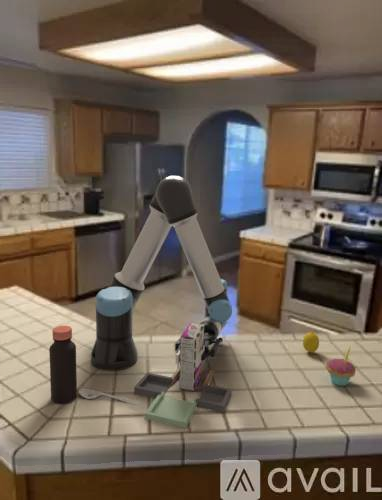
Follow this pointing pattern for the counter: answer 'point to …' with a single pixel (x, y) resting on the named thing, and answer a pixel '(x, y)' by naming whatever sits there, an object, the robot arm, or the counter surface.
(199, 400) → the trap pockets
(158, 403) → the green square tray
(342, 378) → the cupcake
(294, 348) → the counter surface
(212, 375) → the lane rails
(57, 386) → the bottle
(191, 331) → the candy bar box
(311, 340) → the lemon
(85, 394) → the spoon
